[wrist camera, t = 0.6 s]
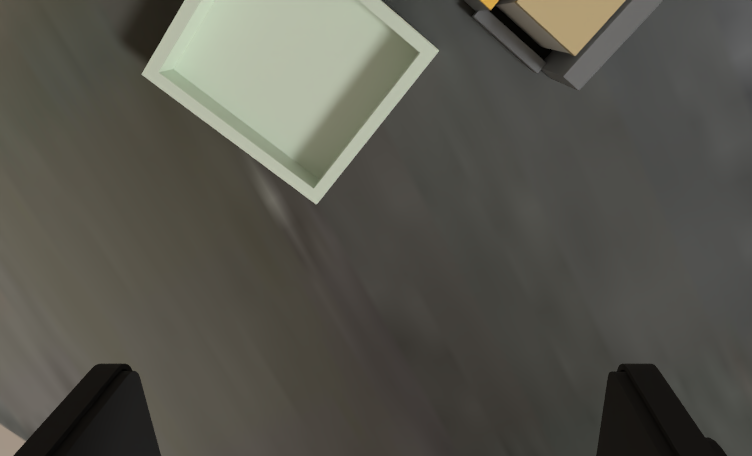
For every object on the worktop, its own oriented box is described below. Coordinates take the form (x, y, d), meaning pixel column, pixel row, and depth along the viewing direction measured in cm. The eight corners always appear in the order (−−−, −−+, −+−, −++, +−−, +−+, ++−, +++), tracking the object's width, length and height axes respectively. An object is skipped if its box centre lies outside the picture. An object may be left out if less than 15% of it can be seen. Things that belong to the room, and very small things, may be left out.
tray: (264, -101, 31) (250, -113, 29) (436, 48, 34) (439, 50, 31) (162, 69, 36) (141, 74, 33) (323, 190, 38) (316, 204, 35)
